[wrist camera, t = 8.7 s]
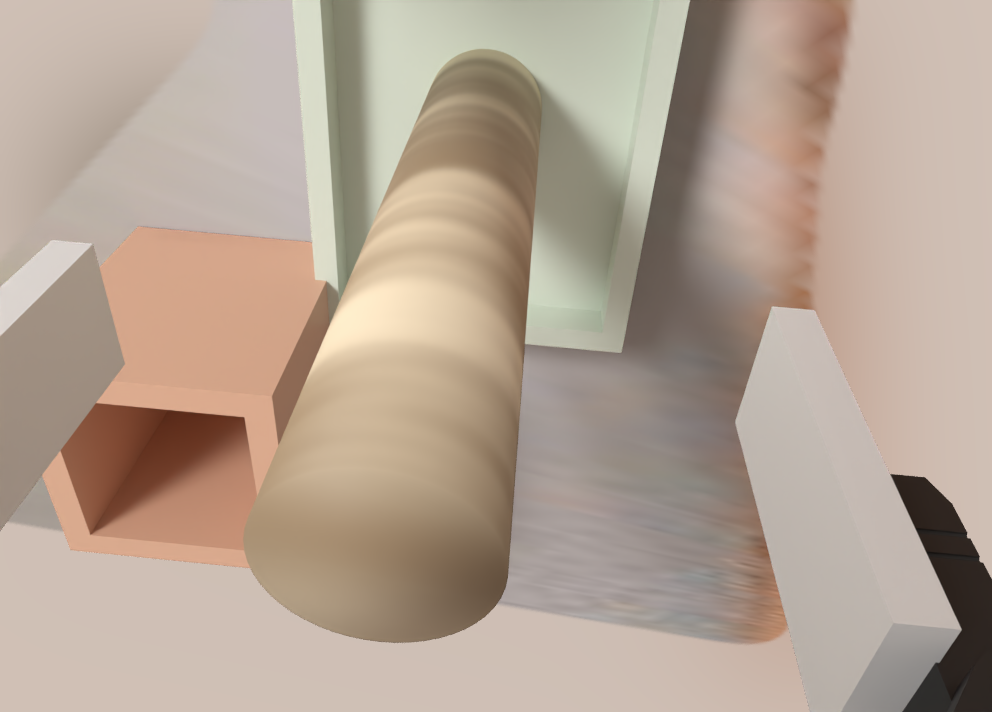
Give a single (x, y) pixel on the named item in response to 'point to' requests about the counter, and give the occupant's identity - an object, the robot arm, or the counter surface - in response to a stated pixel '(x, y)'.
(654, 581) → the counter surface
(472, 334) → the dowel
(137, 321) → the pot
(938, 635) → the robot arm
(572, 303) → the tray
